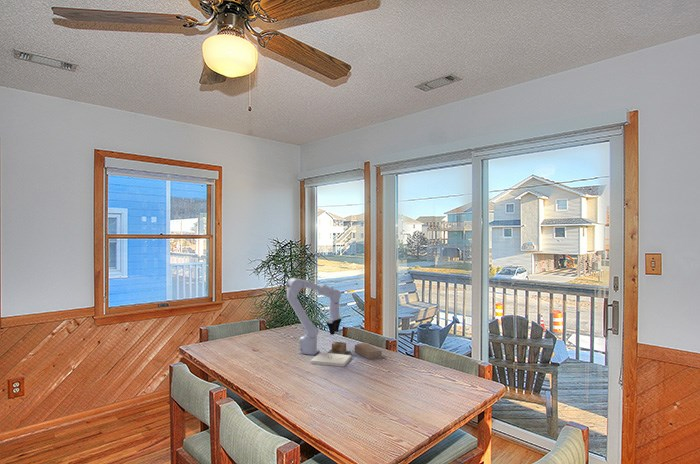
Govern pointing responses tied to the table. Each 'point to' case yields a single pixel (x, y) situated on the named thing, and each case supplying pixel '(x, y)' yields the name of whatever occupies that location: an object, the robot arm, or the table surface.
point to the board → (331, 359)
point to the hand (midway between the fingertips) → (334, 332)
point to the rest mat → (343, 354)
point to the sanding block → (339, 347)
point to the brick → (368, 351)
